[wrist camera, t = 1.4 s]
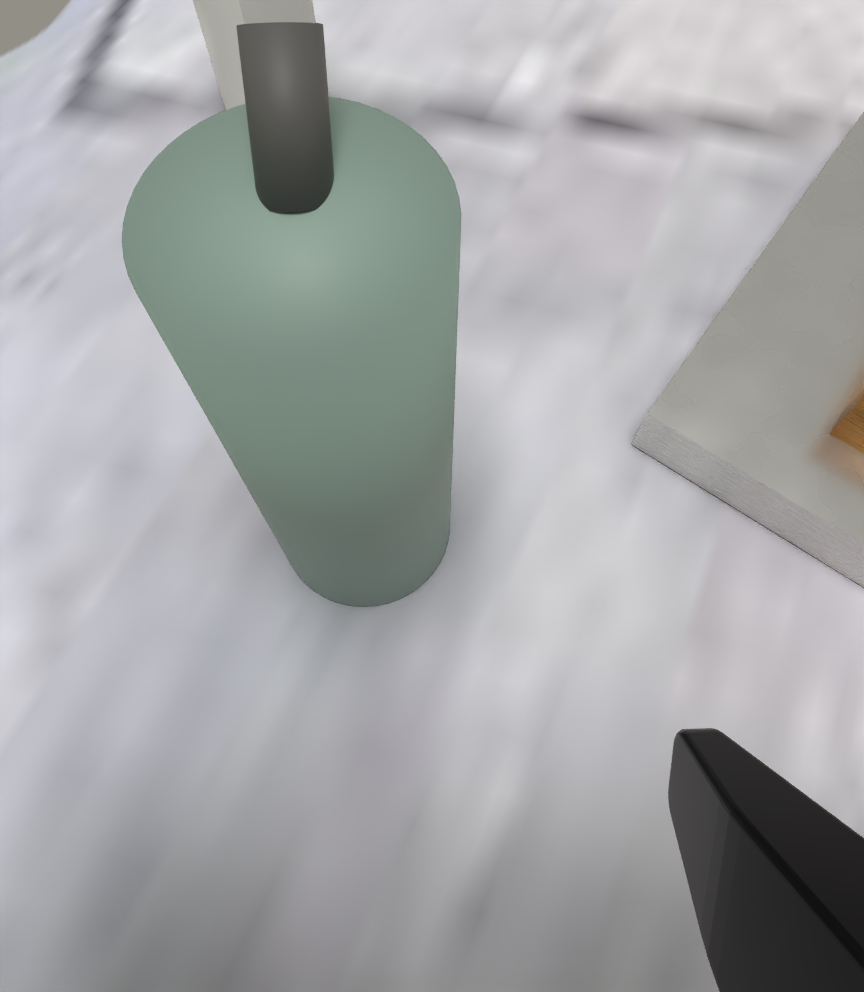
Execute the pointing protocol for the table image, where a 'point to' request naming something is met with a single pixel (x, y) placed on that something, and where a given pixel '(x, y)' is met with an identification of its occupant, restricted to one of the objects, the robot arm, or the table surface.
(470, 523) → the table surface
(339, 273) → the spout can
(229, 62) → the eye dropper bottle
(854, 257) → the grey flat block
